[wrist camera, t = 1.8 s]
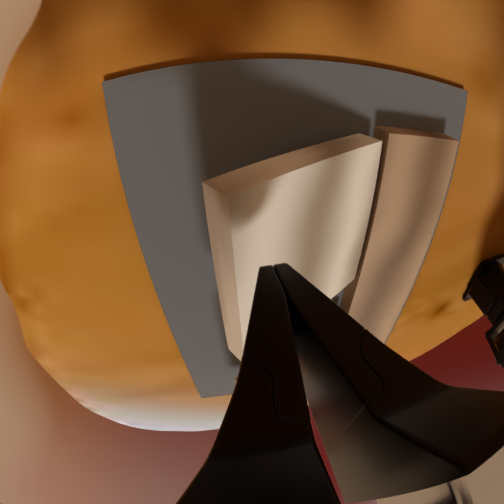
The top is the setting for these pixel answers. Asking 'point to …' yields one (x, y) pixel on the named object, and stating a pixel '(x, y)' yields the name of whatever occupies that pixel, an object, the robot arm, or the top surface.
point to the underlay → (239, 162)
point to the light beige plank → (290, 221)
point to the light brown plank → (399, 223)
